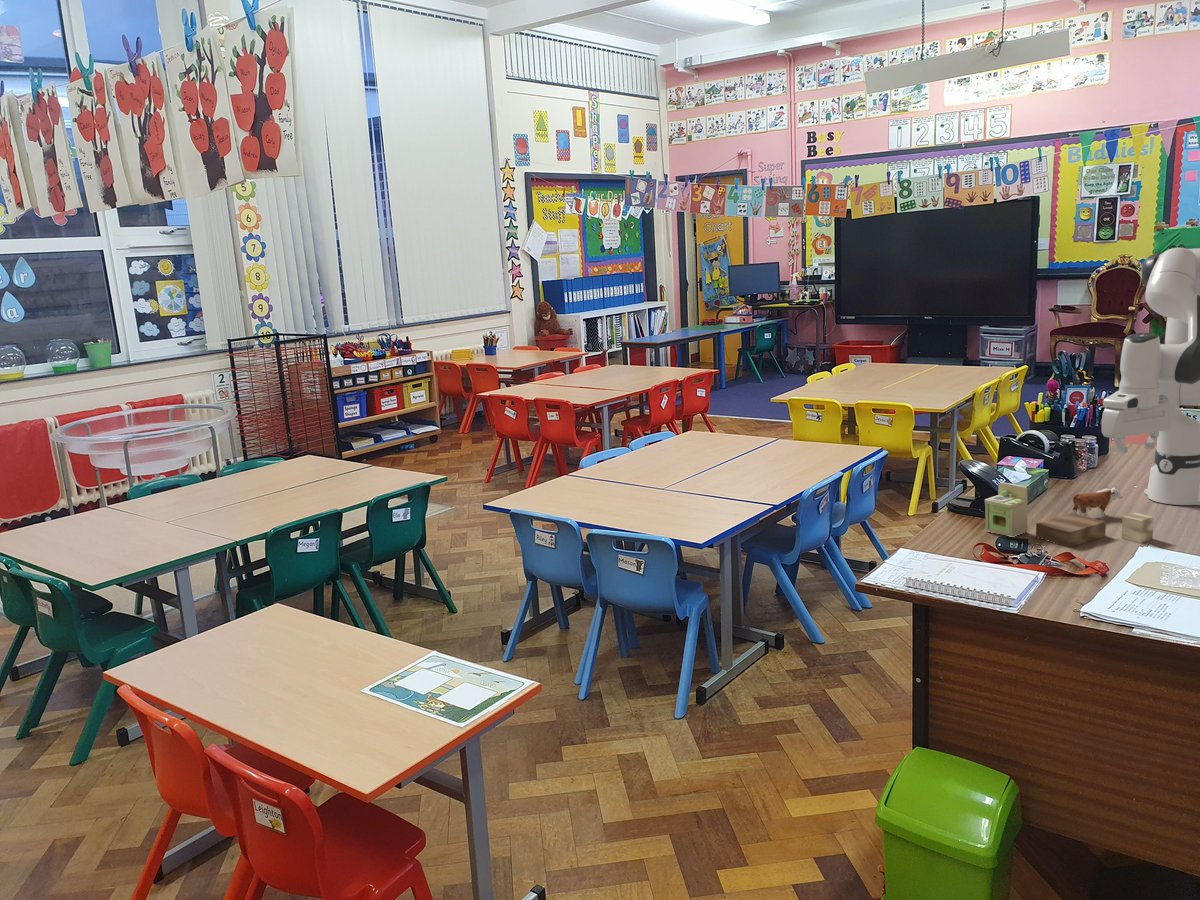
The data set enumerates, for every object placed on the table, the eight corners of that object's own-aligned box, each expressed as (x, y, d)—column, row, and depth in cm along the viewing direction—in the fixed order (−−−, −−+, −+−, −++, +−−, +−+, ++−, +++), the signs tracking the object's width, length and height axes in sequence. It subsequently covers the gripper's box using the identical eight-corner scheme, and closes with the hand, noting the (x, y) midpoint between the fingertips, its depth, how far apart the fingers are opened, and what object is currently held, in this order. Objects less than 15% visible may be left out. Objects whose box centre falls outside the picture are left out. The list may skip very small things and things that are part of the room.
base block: (1071, 527, 245) (1071, 513, 244) (1105, 535, 236) (1105, 521, 235) (1035, 537, 239) (1036, 523, 238) (1069, 547, 230) (1070, 532, 230)
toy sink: (983, 532, 247) (983, 486, 244) (999, 526, 251) (1000, 481, 248) (1010, 539, 240) (1011, 492, 237) (1027, 532, 244) (1028, 486, 241)
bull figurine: (1124, 516, 250) (1125, 488, 248) (1075, 520, 250) (1076, 492, 249) (1115, 512, 254) (1116, 484, 252) (1067, 515, 255) (1068, 488, 253)
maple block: (1133, 534, 236) (1134, 512, 235) (1152, 539, 231) (1153, 516, 230) (1121, 538, 234) (1122, 516, 232) (1140, 543, 229) (1141, 520, 228)
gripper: (1157, 392, 233) (1154, 444, 235) (1097, 400, 226) (1095, 454, 229) (1180, 395, 227) (1176, 448, 230) (1119, 403, 220) (1117, 458, 223)
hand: (1135, 451), depth 229 cm, fingers open, 8 cm apart
